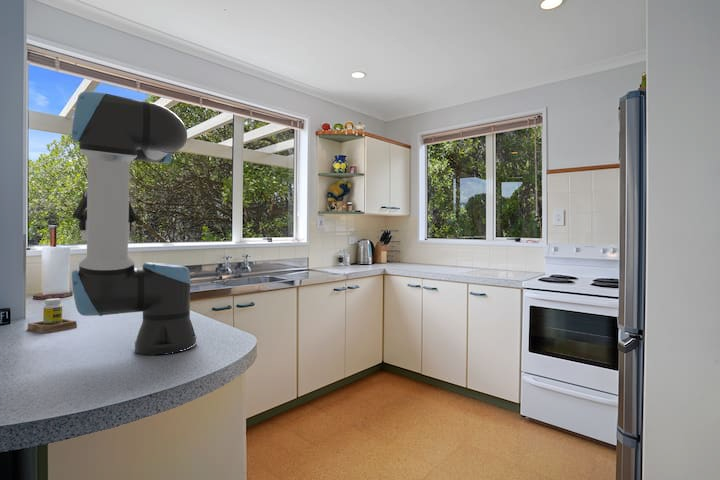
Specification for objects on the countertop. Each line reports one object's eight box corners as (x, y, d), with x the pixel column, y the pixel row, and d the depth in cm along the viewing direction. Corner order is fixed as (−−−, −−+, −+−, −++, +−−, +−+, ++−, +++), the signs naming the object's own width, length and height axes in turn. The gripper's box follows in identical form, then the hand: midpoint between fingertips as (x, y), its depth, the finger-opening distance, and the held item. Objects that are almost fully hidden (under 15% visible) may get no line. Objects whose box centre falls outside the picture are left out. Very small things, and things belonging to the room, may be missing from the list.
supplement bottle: (53, 326, 121) (54, 300, 121) (39, 326, 121) (39, 300, 121) (65, 323, 126) (65, 298, 125) (51, 323, 126) (51, 297, 126)
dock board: (76, 327, 125) (76, 321, 125) (44, 333, 117) (44, 326, 117) (59, 323, 129) (59, 318, 129) (27, 329, 121) (27, 323, 121)
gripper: (134, 184, 143) (134, 240, 143) (59, 173, 121) (59, 240, 121) (148, 183, 140) (147, 240, 140) (73, 172, 117) (72, 240, 118)
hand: (106, 240), depth 130 cm, fingers open, 13 cm apart
